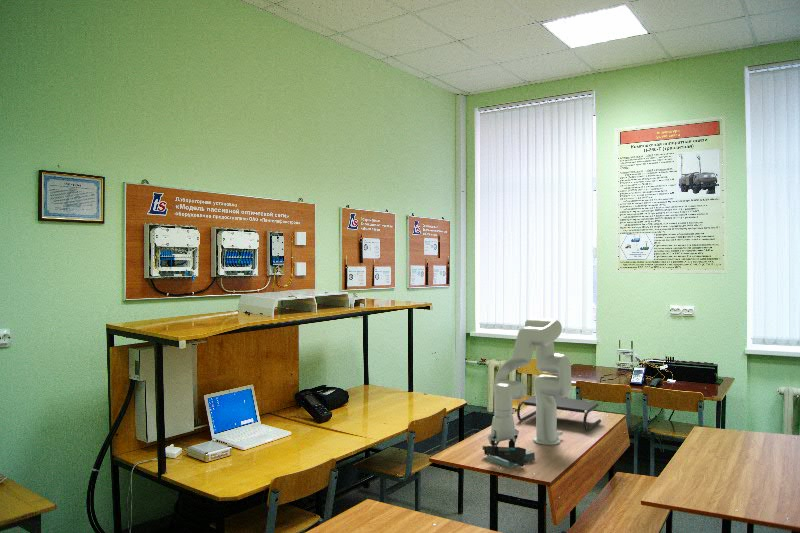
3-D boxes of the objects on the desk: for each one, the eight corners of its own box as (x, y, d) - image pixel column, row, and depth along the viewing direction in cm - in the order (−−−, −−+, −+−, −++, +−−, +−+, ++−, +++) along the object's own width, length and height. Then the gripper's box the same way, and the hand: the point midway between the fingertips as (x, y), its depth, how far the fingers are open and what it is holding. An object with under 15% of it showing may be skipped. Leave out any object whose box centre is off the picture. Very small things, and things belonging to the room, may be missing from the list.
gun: (521, 465, 234) (519, 440, 238) (483, 469, 246) (481, 445, 251) (527, 466, 236) (525, 441, 241) (489, 470, 249) (487, 447, 253)
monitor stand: (601, 422, 310) (601, 402, 310) (585, 434, 286) (585, 412, 287) (535, 412, 330) (535, 394, 331) (516, 423, 307) (516, 403, 308)
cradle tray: (499, 456, 251) (499, 452, 251) (520, 464, 240) (520, 460, 240) (486, 459, 247) (486, 455, 247) (508, 468, 236) (508, 463, 236)
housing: (517, 454, 254) (517, 446, 254) (534, 460, 245) (534, 452, 246) (508, 456, 251) (508, 448, 251) (525, 462, 242) (525, 454, 242)
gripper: (511, 408, 252) (511, 447, 251) (482, 414, 242) (482, 454, 242) (524, 411, 245) (524, 451, 245) (494, 417, 236) (494, 459, 236)
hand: (503, 453), depth 243 cm, fingers open, 9 cm apart
